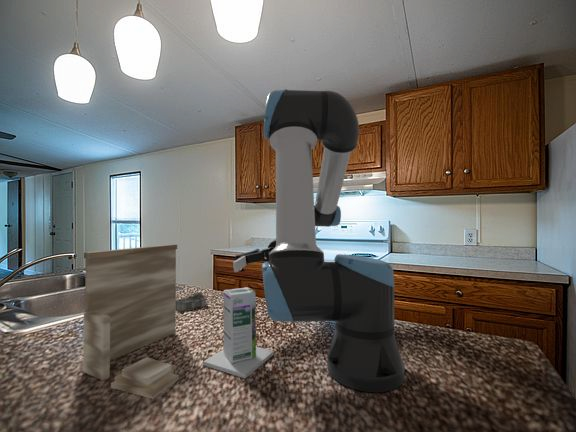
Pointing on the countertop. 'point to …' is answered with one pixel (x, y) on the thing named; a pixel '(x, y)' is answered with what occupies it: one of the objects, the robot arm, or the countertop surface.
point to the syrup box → (239, 324)
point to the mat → (238, 363)
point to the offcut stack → (146, 378)
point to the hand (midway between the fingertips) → (259, 266)
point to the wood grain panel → (127, 303)
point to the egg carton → (191, 302)
